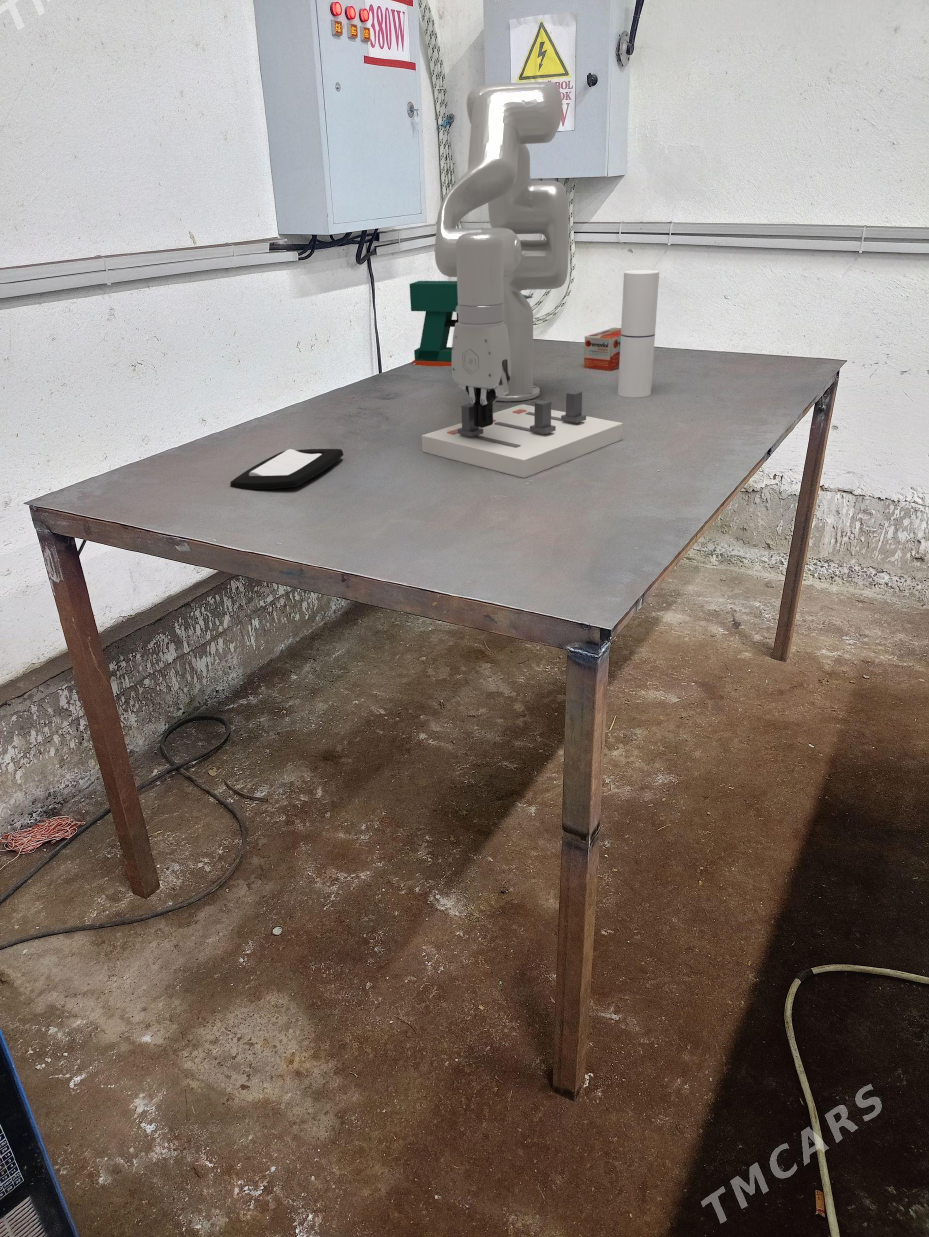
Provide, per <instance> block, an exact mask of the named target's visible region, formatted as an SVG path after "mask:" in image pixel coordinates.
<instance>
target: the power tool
mask: <svg viewBox="0 0 929 1237" xmlns="http://www.w3.org/2000/svg"><path fill="white" fill-rule="evenodd" d="M522 295H523V296H524V297H525V298H526V300H527V299H532V298H533V299H534V296H531V295H527V294H523V293H522ZM409 298H410V299H409V300H410V312H425V315H424V320H423V326H422V333H421V338H420V344H419V347H418V348H416V349H413V350H414V351H413V352H414V359H413V360H412V361H411V364H413V363H416V364H415V365H421V367H422V366H423V367H442V366H452V346H448V341H449V336H450V330H451V328H454V327H455V323H458V322H459V321H458V313H456V306H458V293H457V280H417V281H414V282H411V283H409ZM454 313H456V319H453V315H454ZM415 365H414V366H415Z"/></svg>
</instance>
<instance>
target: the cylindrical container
mask: <svg viewBox="0 0 929 1237" xmlns="http://www.w3.org/2000/svg"><path fill="white" fill-rule="evenodd" d="M659 279H660V271H659V270H655V269H652V270H651V269H636V270H635V269H632V270H625V271H624V272H623V282H622V283H623V284H622V286H623V288H622V307H621V308H622V309H621V324H620V325H621V326H620V328H621V343H620V363H619V368H618V381H617V382H618V386H617V395H618V396H620V397H624V398H625V397H626V398H631V399H632V398H633V399H634V398H635V399H636V398H637V399H638V398H646V397H649V396H651V394H652V384H653V372H654V371H653V368H654V355H655V341H656V339H655V338H656V324H657V311H658V310H657V309H658V307H657V306H658V297H659V296H658V294H659V281H660V280H659Z"/></svg>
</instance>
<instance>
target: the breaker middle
mask: <svg viewBox="0 0 929 1237" xmlns="http://www.w3.org/2000/svg"><path fill="white" fill-rule="evenodd" d="M534 406H535V417H534V425H532V426H530V431H534V432H538V433H543V434H547V433H550V432H553V431H556V426H553V425H551V410H552V401H549V400H539V401H536V402H534Z"/></svg>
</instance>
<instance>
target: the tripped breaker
mask: <svg viewBox="0 0 929 1237" xmlns="http://www.w3.org/2000/svg"><path fill="white" fill-rule="evenodd" d="M473 404H474V403H471V402H469V403H466V404H463V405H461V408H460V409H461V411H460V412H461V423H462V428H459V429H458V434H463V435H467V436H471V437H473V436H477V435H480V434H483V429H482V428H479V427H475V426H474V406H473Z"/></svg>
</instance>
